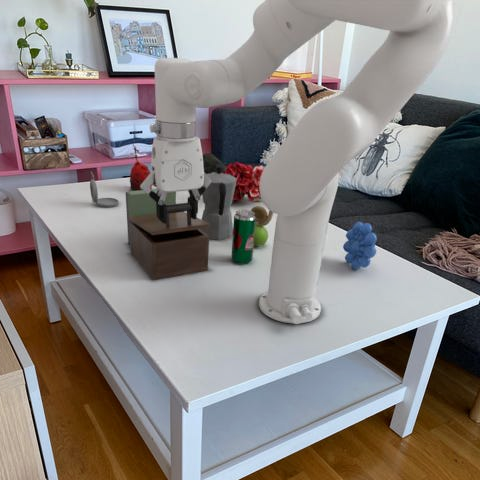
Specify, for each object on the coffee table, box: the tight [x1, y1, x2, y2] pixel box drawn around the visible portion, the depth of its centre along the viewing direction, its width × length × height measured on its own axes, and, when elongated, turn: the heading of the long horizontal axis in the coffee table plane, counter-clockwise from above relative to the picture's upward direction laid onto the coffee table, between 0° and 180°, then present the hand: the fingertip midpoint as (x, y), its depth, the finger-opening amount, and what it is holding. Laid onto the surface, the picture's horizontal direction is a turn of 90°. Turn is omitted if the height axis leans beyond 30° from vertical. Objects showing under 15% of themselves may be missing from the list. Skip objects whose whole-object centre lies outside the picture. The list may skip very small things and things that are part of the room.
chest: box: [129, 221, 210, 281], centre depth 112 cm, size 15×13×8 cm
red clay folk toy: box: [129, 144, 153, 191], centre depth 154 cm, size 8×7×15 cm
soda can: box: [230, 209, 256, 265], centre depth 114 cm, size 5×5×12 cm
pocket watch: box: [89, 170, 119, 208], centre depth 142 cm, size 8×8×10 cm
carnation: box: [202, 152, 266, 203], centre depth 159 cm, size 16×18×35 cm
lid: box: [129, 202, 211, 235], centre depth 108 cm, size 16×13×5 cm
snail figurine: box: [250, 205, 274, 247], centre depth 123 cm, size 5×6×12 cm
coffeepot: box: [201, 166, 237, 241], centre depth 125 cm, size 15×9×18 cm, turn 10°
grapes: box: [342, 221, 378, 271], centre depth 115 cm, size 12×7×12 cm, turn 19°
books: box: [125, 188, 177, 246], centre depth 118 cm, size 5×11×14 cm, turn 120°
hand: (177, 218), depth 104 cm, fingers closed on lid, 6 cm apart
